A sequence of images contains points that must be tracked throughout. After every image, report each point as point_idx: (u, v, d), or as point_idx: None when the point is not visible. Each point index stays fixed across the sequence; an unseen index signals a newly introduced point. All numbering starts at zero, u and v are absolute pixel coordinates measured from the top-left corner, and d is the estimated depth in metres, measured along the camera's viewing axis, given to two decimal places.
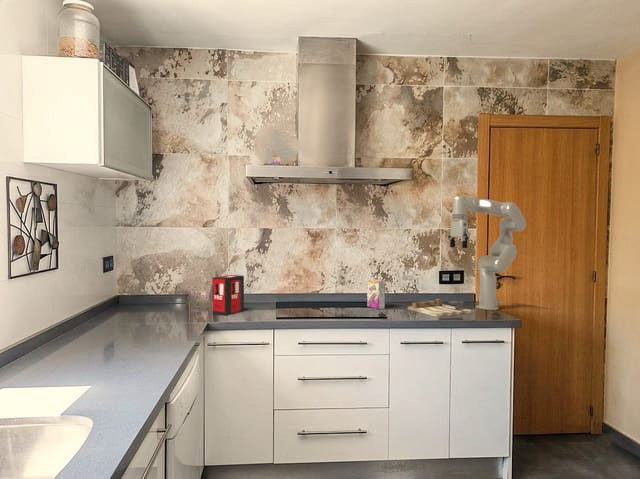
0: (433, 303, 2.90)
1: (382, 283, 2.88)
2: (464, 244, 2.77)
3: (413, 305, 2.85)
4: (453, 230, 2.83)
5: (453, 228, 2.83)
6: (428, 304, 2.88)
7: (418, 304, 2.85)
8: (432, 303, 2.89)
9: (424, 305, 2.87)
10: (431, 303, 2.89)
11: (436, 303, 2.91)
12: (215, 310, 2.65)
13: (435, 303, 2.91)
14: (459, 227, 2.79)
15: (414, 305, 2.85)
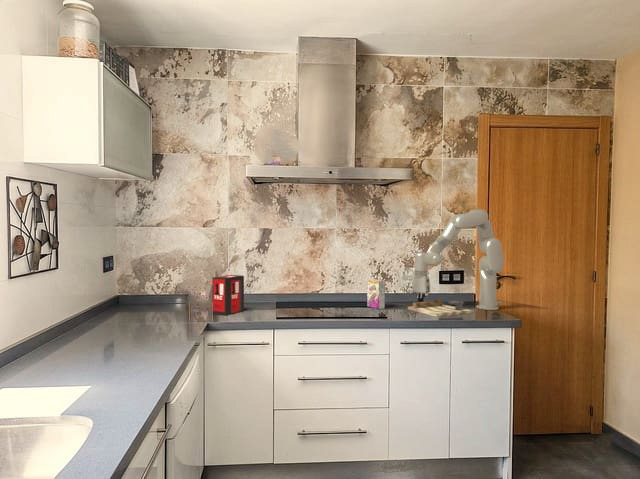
0: (433, 303, 2.90)
1: (382, 283, 2.88)
2: (421, 301, 2.90)
3: (413, 305, 2.85)
4: (415, 286, 2.91)
5: (415, 284, 2.91)
6: (428, 304, 2.88)
7: (418, 304, 2.84)
8: (432, 303, 2.89)
9: (424, 305, 2.86)
10: (431, 303, 2.89)
11: (436, 303, 2.91)
12: (215, 310, 2.65)
13: (435, 303, 2.90)
14: (422, 283, 2.87)
15: (415, 305, 2.84)
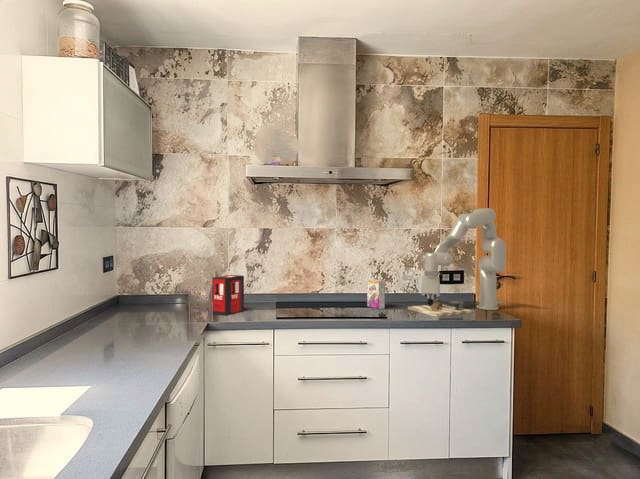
0: (439, 303, 2.88)
1: (382, 283, 2.88)
2: (432, 302, 2.83)
3: (433, 308, 2.77)
4: (427, 287, 2.83)
5: (427, 285, 2.83)
6: None
7: (437, 306, 2.78)
8: (439, 304, 2.88)
9: (438, 306, 2.82)
10: (439, 304, 2.87)
11: (440, 303, 2.90)
12: (215, 310, 2.65)
13: (439, 303, 2.90)
14: (435, 284, 2.81)
15: (435, 308, 2.76)
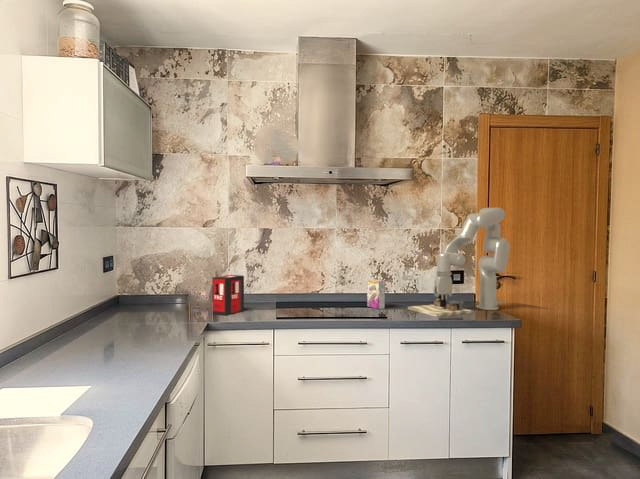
0: None
1: (382, 283, 2.88)
2: None
3: (454, 308, 2.76)
4: (442, 288, 2.79)
5: (443, 286, 2.79)
6: None
7: None
8: None
9: None
10: None
11: None
12: (215, 310, 2.65)
13: None
14: (450, 284, 2.81)
15: (455, 308, 2.76)
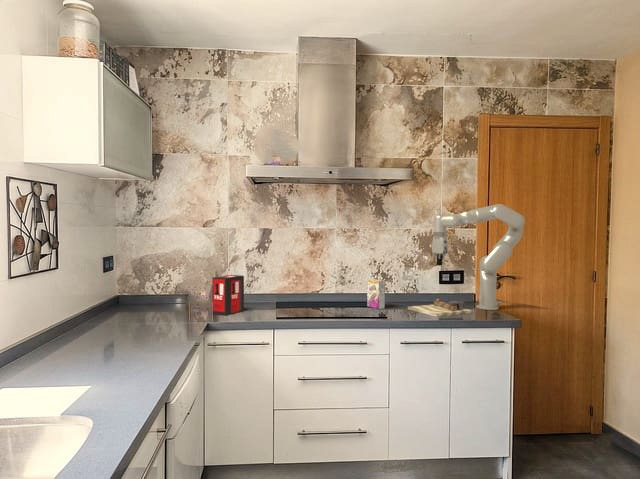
0: None
1: (382, 283, 2.88)
2: (439, 262, 2.98)
3: (454, 308, 2.76)
4: (434, 247, 3.00)
5: (434, 245, 3.00)
6: None
7: None
8: None
9: None
10: None
11: None
12: (215, 310, 2.65)
13: None
14: (440, 244, 2.96)
15: (455, 308, 2.76)
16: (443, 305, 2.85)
